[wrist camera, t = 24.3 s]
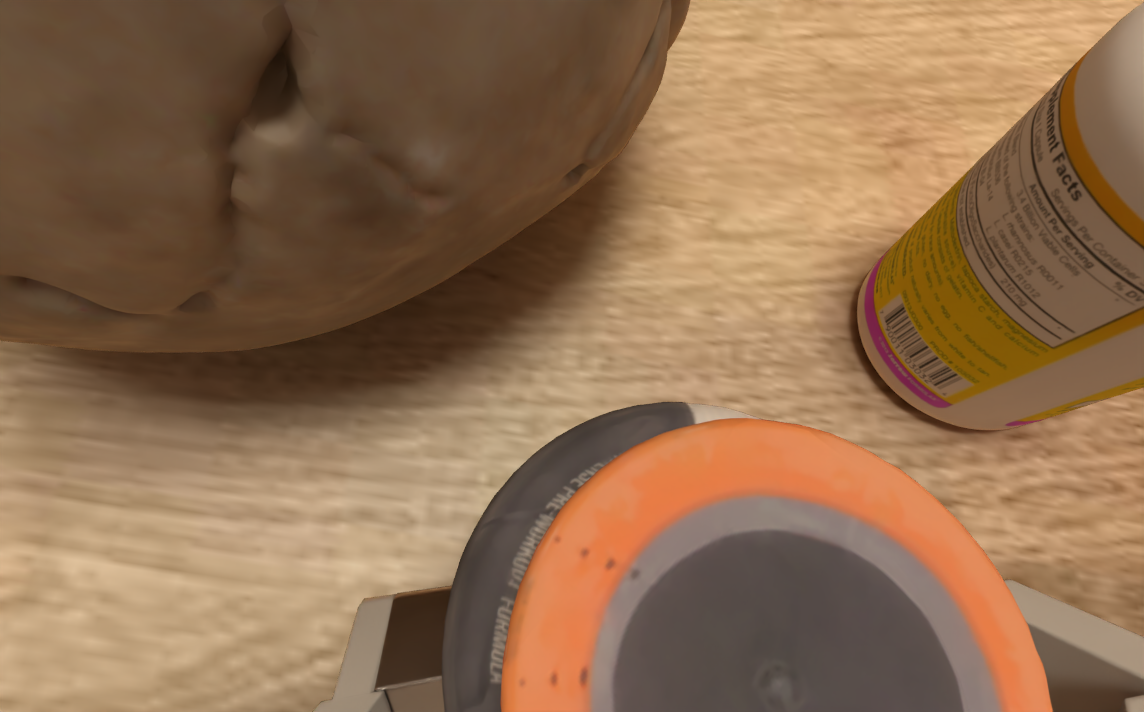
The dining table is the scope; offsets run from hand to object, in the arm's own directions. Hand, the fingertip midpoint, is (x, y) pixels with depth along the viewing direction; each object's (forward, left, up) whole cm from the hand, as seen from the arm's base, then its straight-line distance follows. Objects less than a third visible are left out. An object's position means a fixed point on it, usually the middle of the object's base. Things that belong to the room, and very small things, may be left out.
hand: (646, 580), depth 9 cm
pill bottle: (0, +1, -6) cm, 6 cm away
